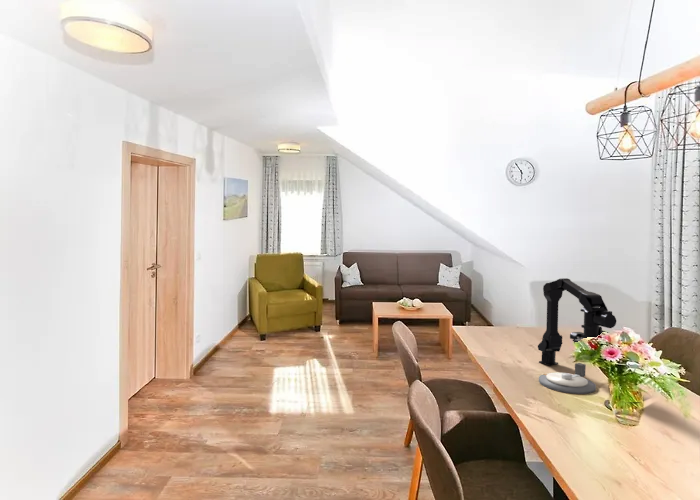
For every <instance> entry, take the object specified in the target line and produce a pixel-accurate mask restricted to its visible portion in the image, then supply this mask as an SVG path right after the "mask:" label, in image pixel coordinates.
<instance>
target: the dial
mask: <svg viewBox="0 0 700 500" xmlns="http://www.w3.org/2000/svg"><path fill="white" fill-rule="evenodd" d="M586 369H587V367H586V364H585V363H582V362H577V363H575V364H574V374H573V373H568V372H557V371H556V372H548V373H549V374H548V373H546V374H547V375H546V379H547V380H548V381H550V382H552V383H555V384H558V385H563V386H569V387H583V386H586V385H588V380H589V379H588V380H587V378H585V377H586Z"/></svg>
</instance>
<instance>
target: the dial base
mask: <svg viewBox="0 0 700 500" xmlns="http://www.w3.org/2000/svg"><path fill="white" fill-rule="evenodd" d="M549 373H550V372H547V373H543V374H540V375H539V376H538V383H539V384H540V385H541V386H543V387H544V388H546V389H549V390H553V391H557V392H560V393H566V394H573V395H575V394H576V395H581V394H582V395H585V394H586V395H587V394H588V395H589V394H593V393H594V392H596V390H597V385H596V382H593V381H592V380H590V379H587V378H586V379H587V380H588V385H586V386H583V387H569V386H563V385H558V384H555V383H552V382H550V381H548V380H547V379H546V375H547V374H549Z"/></svg>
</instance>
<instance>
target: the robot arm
mask: <svg viewBox="0 0 700 500" xmlns="http://www.w3.org/2000/svg"><path fill="white" fill-rule="evenodd" d="M542 290H543V296H544V298H545V300H546V330H545V331H544V333H543V334H542V338H541V339H542V340H541V341H540V342H539V343H538V345H537V350H538V351H540V352H541V360H539V361H538V363H539V364H544V365H547V366H556V365H559V362H557V361H556V356H557V355H556V352H561V351H560V350H561V347H562V346H563V345H562V344H563V336H562V334H560V333H559V330H558V329H559V302H560V300H561V299H562V297H563V292H564V291H566V292H568V293H569V294H570V295H572V296H574V297H575V298H576V299H578V302H579V304H580V305H582V308H581V309H580V312H583V324H581V325H580V326H581V328H583V332H582V331H573V332H572V331H571V333H570V334H569V339H571V340H572V342H573V343H574V344H575V342H578V341H580V340H581V339H583V338H587V337H597V336H598V335H600V334H601V333H602V332H607V333H609V332H608V331H605V330H603V328H602V327H604V328H607V329H612V328H614V327H615V326H616V325H617V318H616V316H615V315H614V314H613V311H611V310H609V309H608V308H607V306H606V303H605V302H604V300H603V297H602V295H600V294H598V293H596V292H593V291H589V290H586V289H585V288H583V287H581V286H580V285H578V284H576V283H575V282H573V281H572V280H571V279H570V278H563V277H562V278H559V279H556V280H553V281H550V282H546V283H545V284H543V288H542Z"/></svg>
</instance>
